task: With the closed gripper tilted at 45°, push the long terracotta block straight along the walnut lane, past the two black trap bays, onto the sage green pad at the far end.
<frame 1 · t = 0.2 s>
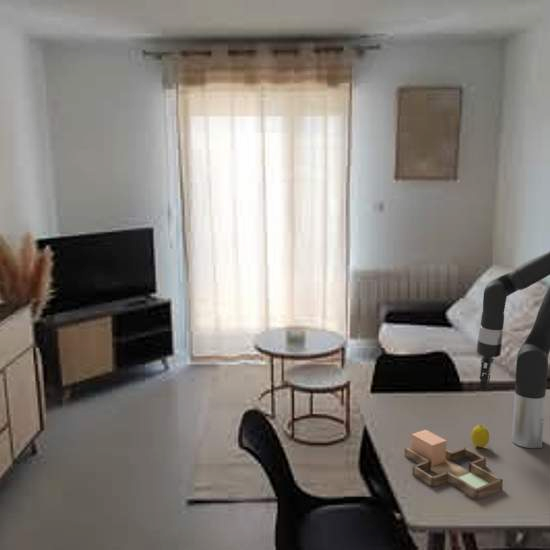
hand: (484, 386, 200), 18 cm above the table, tool pointing down, fingers open, 8 cm apart
lemon: (479, 448, 195), on the table
block: (428, 457, 188), resting on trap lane
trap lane: (449, 471, 180), on the table
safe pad: (473, 485, 172), resting on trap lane
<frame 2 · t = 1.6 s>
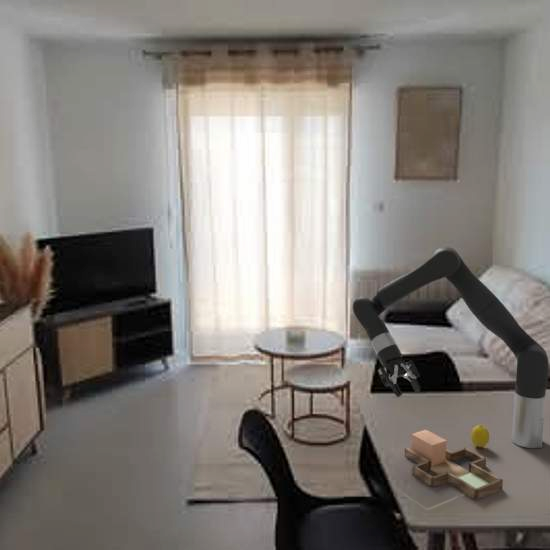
hand: (409, 393, 192), 19 cm above the table, tool tilted 45°, fingers open, 7 cm apart
nothing on the table moved.
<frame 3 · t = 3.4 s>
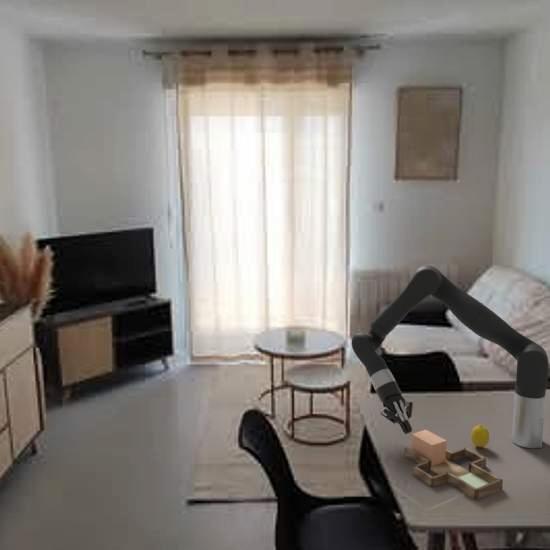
hand: (409, 432, 194), 5 cm above the table, tool tilted 45°, fingers closed
nothing on the table moved.
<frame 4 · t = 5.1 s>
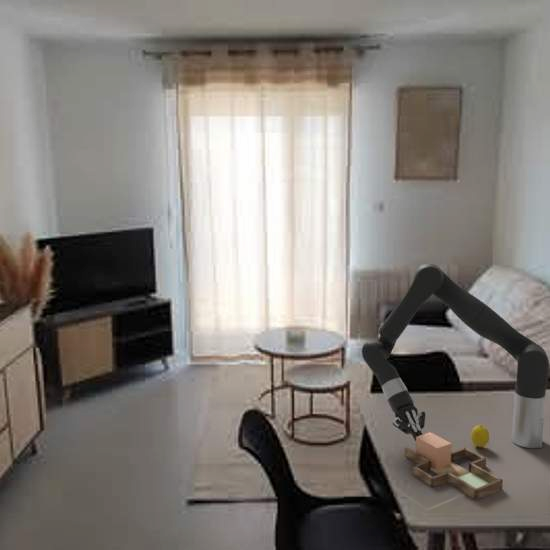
hand: (422, 443, 190), 4 cm above the table, tool tilted 45°, fingers closed
block: (432, 460, 186), resting on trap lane, touching gripper
everything else where it was.
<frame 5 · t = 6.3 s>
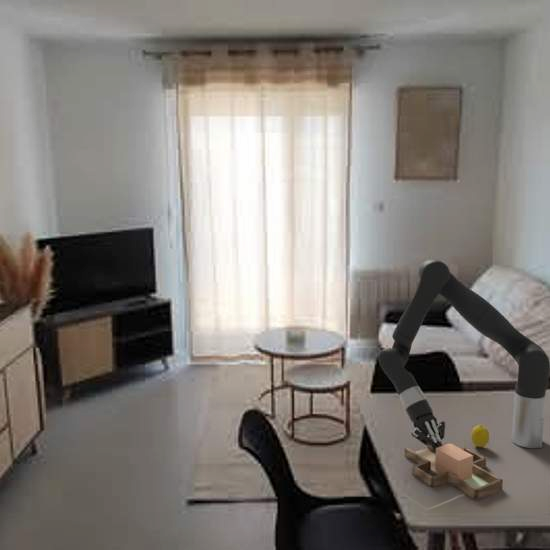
hand: (442, 455, 182), 4 cm above the table, tool tilted 45°, fingers closed
block: (453, 473, 178), resting on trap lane, touching gripper
everything else where it was.
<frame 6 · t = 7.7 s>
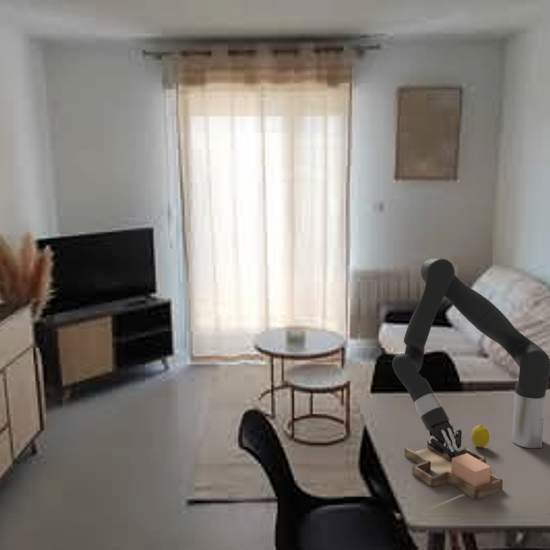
hand: (459, 464, 176), 4 cm above the table, tool tilted 45°, fingers closed
block: (469, 484, 172), resting on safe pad, touching gripper
everything else where it was.
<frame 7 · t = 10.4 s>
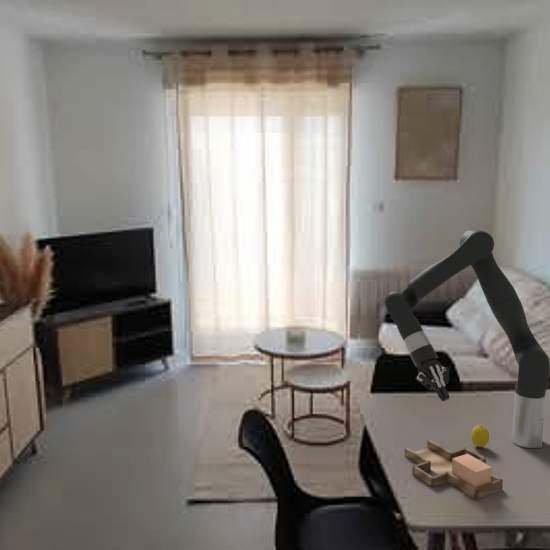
hand: (446, 399, 180), 22 cm above the table, tool tilted 40°, fingers closed
block: (470, 484, 172), resting on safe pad
everything else where it was.
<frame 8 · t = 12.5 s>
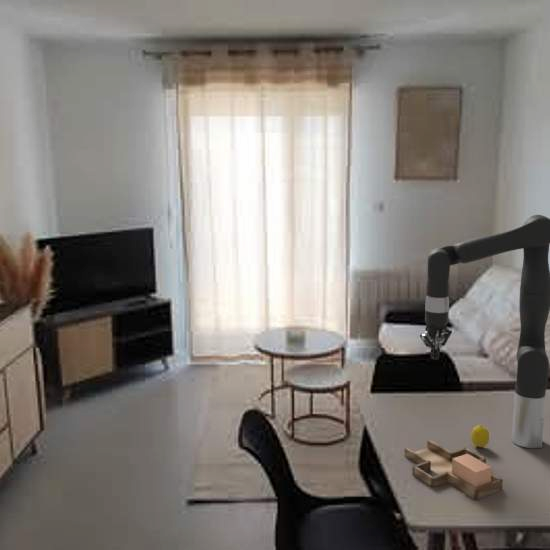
hand: (435, 358, 200), 27 cm above the table, tool pointing down, fingers closed
nothing on the table moved.
at the end: block 1.0 cm from the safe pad (horizontally); block tilted 0°; block moved 18.1 cm from its start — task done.
